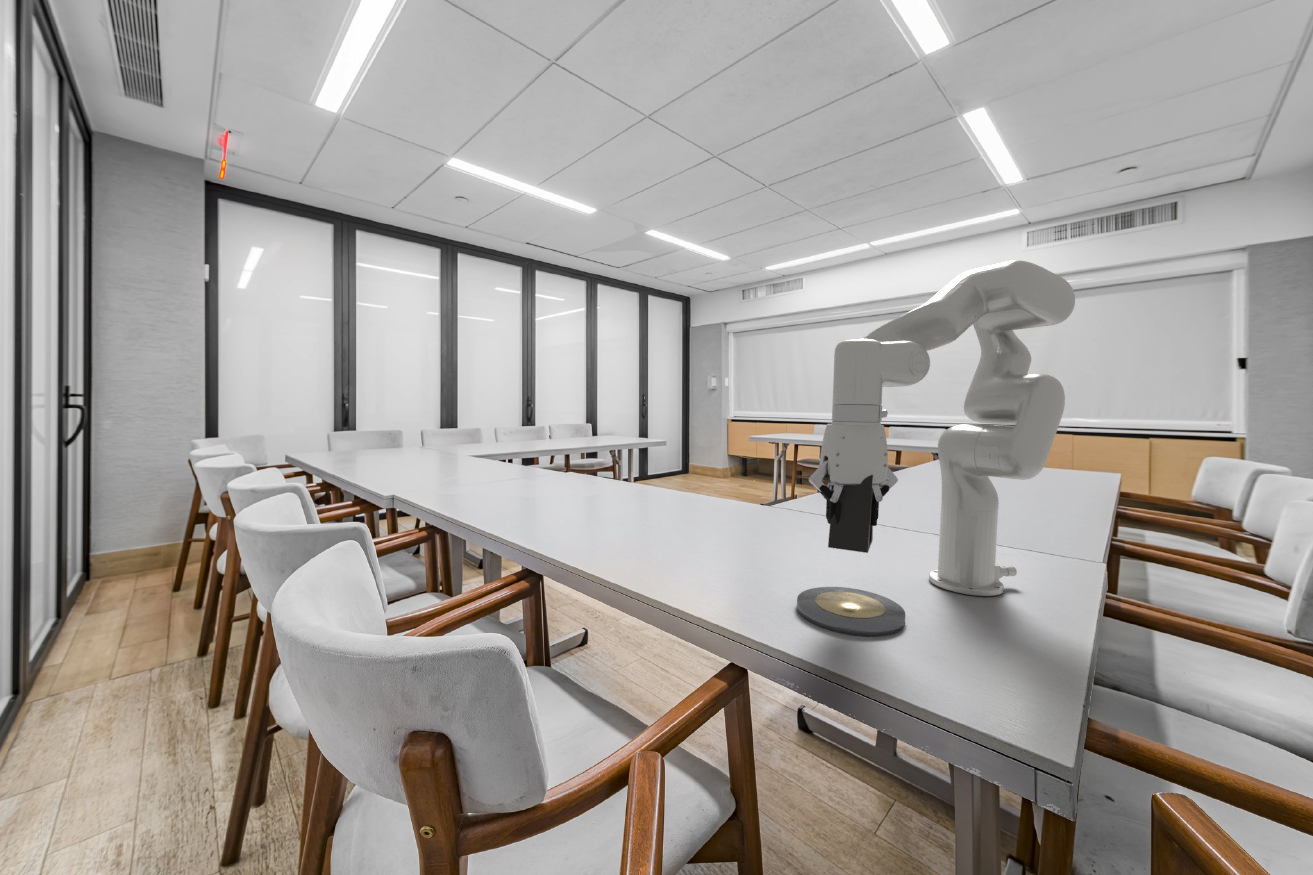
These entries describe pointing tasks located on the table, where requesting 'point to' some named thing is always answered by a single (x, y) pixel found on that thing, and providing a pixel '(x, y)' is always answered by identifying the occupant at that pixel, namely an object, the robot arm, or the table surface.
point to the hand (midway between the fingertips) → (851, 523)
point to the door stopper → (853, 518)
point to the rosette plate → (851, 611)
